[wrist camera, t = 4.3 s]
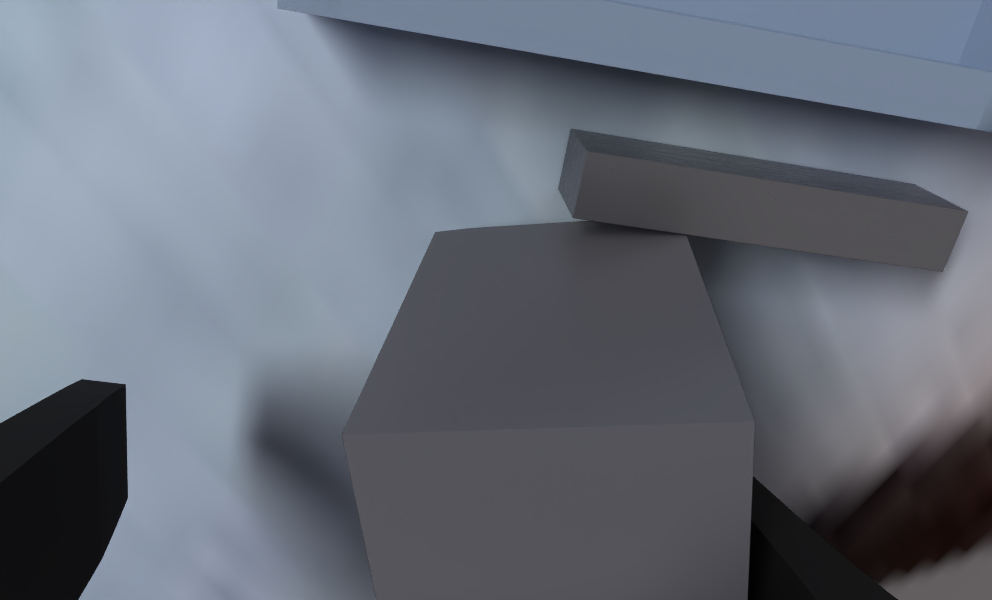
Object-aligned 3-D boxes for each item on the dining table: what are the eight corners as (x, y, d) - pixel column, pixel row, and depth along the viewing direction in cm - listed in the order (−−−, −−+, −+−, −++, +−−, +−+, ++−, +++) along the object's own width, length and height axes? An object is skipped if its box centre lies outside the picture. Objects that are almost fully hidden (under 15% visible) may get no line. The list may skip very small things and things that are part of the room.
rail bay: (465, 630, 17) (467, 690, 16) (570, 128, 13) (587, 151, 11) (731, 649, 18) (756, 708, 16) (914, 184, 14) (968, 211, 12)
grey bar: (484, 591, 17) (442, 909, 11) (436, 230, 13) (341, 435, 8) (680, 590, 16) (733, 921, 11) (678, 215, 13) (755, 421, 7)
